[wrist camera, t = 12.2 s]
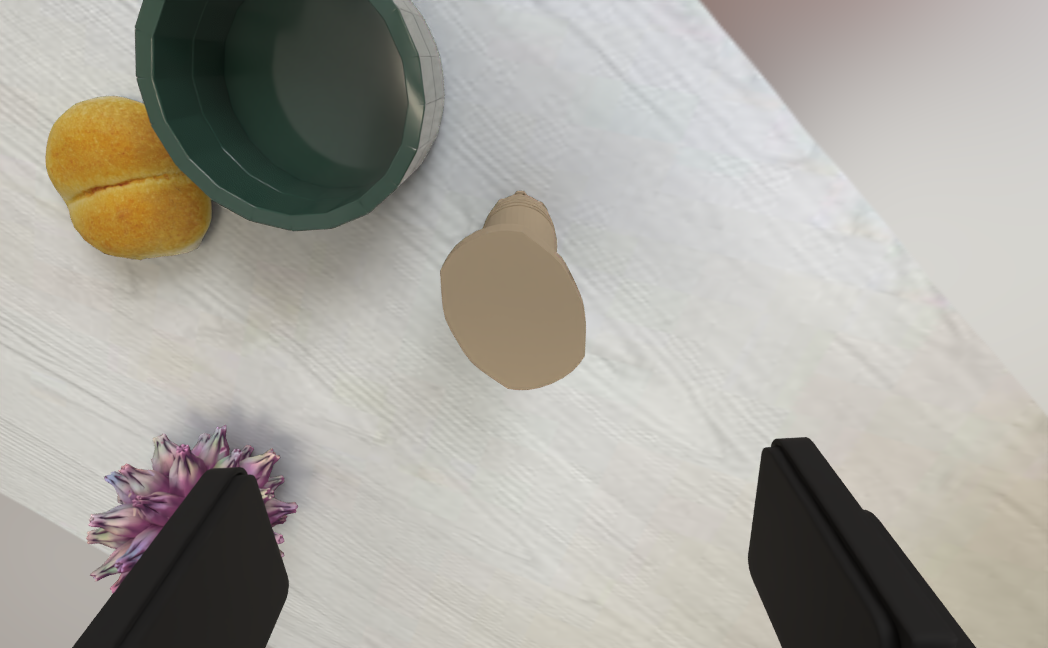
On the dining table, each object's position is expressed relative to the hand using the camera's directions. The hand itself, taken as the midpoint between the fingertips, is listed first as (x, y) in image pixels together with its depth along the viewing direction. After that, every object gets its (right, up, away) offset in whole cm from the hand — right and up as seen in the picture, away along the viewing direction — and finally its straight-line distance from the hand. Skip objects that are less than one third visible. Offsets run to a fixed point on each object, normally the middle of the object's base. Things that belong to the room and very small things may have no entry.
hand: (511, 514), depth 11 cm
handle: (0, +10, +25) cm, 27 cm away
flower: (-21, -7, +32) cm, 39 cm away
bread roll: (-22, +12, +24) cm, 35 cm away
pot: (-10, +17, +21) cm, 29 cm away
